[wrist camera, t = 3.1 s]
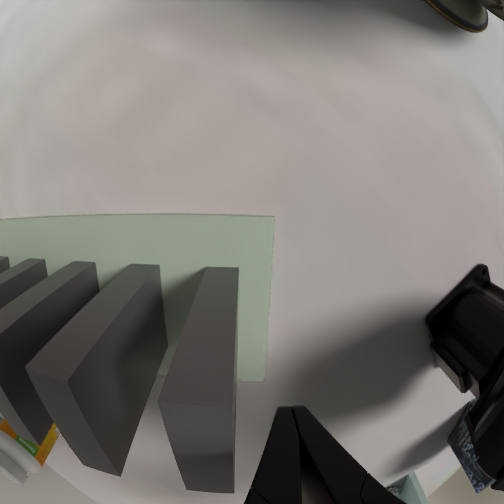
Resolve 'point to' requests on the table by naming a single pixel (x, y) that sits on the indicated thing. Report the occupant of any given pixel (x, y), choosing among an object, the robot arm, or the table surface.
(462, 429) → the box
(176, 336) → the rack
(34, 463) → the supplement bottle
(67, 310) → the domino
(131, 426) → the domino
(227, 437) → the domino
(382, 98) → the table surface
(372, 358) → the table surface
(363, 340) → the table surface
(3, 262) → the domino
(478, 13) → the apothecary jar
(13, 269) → the domino
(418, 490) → the right angle wall
